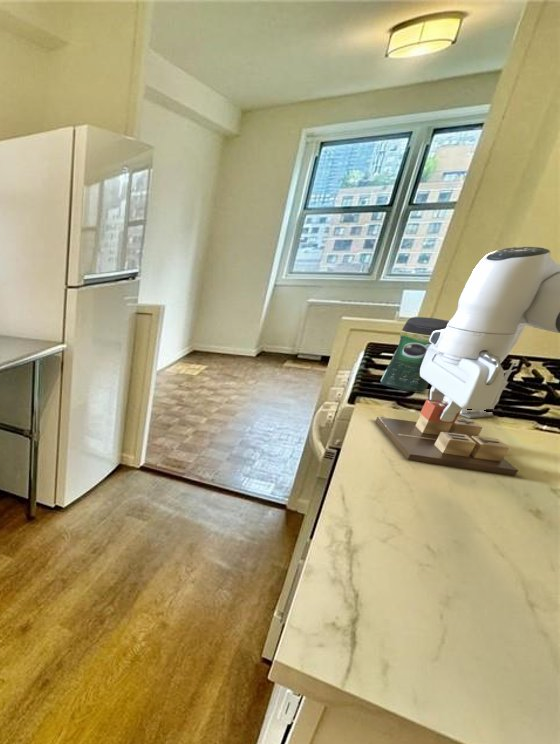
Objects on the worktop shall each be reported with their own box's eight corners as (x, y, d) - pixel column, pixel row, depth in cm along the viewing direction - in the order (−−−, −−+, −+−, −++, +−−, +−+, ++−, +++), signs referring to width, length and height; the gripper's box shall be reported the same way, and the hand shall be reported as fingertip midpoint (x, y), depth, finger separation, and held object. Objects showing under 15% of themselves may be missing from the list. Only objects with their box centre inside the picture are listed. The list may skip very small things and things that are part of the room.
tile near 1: (466, 432, 103) (473, 419, 101) (475, 440, 99) (483, 426, 98) (442, 429, 104) (449, 416, 103) (450, 437, 101) (457, 423, 99)
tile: (459, 448, 96) (466, 434, 95) (468, 457, 93) (476, 442, 91) (433, 444, 97) (441, 430, 96) (442, 453, 94) (450, 439, 93)
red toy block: (447, 416, 95) (454, 401, 93) (456, 424, 91) (464, 408, 90) (417, 412, 96) (424, 398, 95) (426, 420, 93) (433, 405, 92)
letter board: (464, 433, 105) (467, 427, 105) (515, 475, 89) (518, 469, 88) (375, 421, 111) (377, 416, 110) (407, 459, 94) (410, 453, 94)
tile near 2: (439, 429, 104) (446, 416, 103) (448, 436, 101) (455, 423, 99) (414, 425, 106) (421, 412, 104) (422, 433, 102) (429, 419, 101)
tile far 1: (490, 452, 94) (498, 438, 93) (501, 461, 91) (509, 447, 90) (464, 449, 96) (472, 435, 94) (474, 457, 93) (482, 443, 91)
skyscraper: (464, 418, 112) (530, 294, 99) (428, 405, 119) (485, 288, 107) (492, 415, 114) (560, 293, 101) (455, 403, 121) (514, 287, 108)
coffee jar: (428, 389, 130) (462, 319, 121) (419, 395, 126) (453, 323, 117) (385, 379, 137) (413, 313, 128) (374, 385, 133) (403, 316, 124)
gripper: (529, 362, 78) (486, 439, 84) (468, 333, 94) (437, 399, 101) (478, 358, 80) (440, 433, 86) (428, 330, 96) (399, 395, 103)
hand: (438, 414), depth 93 cm, fingers closed on red toy block, 4 cm apart
